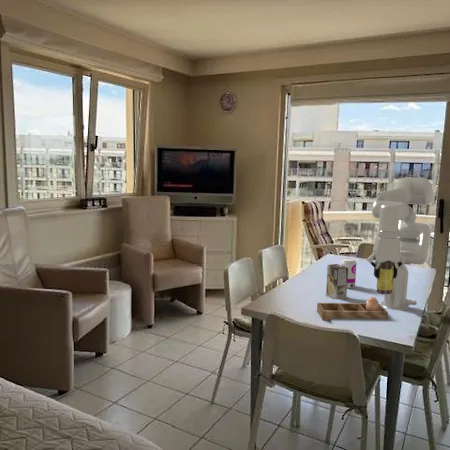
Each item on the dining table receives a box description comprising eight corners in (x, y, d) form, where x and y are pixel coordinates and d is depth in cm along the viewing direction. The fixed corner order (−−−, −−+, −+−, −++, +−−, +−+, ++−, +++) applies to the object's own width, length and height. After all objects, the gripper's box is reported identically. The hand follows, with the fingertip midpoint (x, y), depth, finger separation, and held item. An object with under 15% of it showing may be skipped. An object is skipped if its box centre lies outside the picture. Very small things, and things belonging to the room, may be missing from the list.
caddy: (378, 312, 197) (378, 303, 196) (387, 321, 186) (387, 312, 186) (316, 311, 197) (317, 302, 196) (322, 320, 186) (322, 311, 185)
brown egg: (375, 312, 194) (376, 295, 193) (379, 316, 189) (380, 299, 188) (364, 312, 194) (365, 295, 193) (367, 316, 189) (368, 298, 188)
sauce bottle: (395, 295, 175) (398, 247, 172) (379, 295, 175) (383, 247, 171) (388, 290, 182) (391, 243, 178) (373, 290, 181) (376, 244, 178)
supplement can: (357, 286, 236) (359, 259, 234) (350, 289, 230) (352, 262, 228) (344, 283, 242) (345, 257, 240) (336, 286, 236) (338, 259, 234)
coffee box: (347, 299, 214) (349, 267, 212) (336, 300, 212) (338, 269, 209) (335, 293, 223) (337, 263, 220) (325, 295, 220) (326, 264, 218)
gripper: (405, 232, 178) (402, 274, 181) (363, 232, 178) (361, 274, 181) (413, 236, 170) (410, 280, 174) (369, 236, 170) (367, 280, 173)
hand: (385, 277), depth 177 cm, fingers closed on sauce bottle, 6 cm apart
